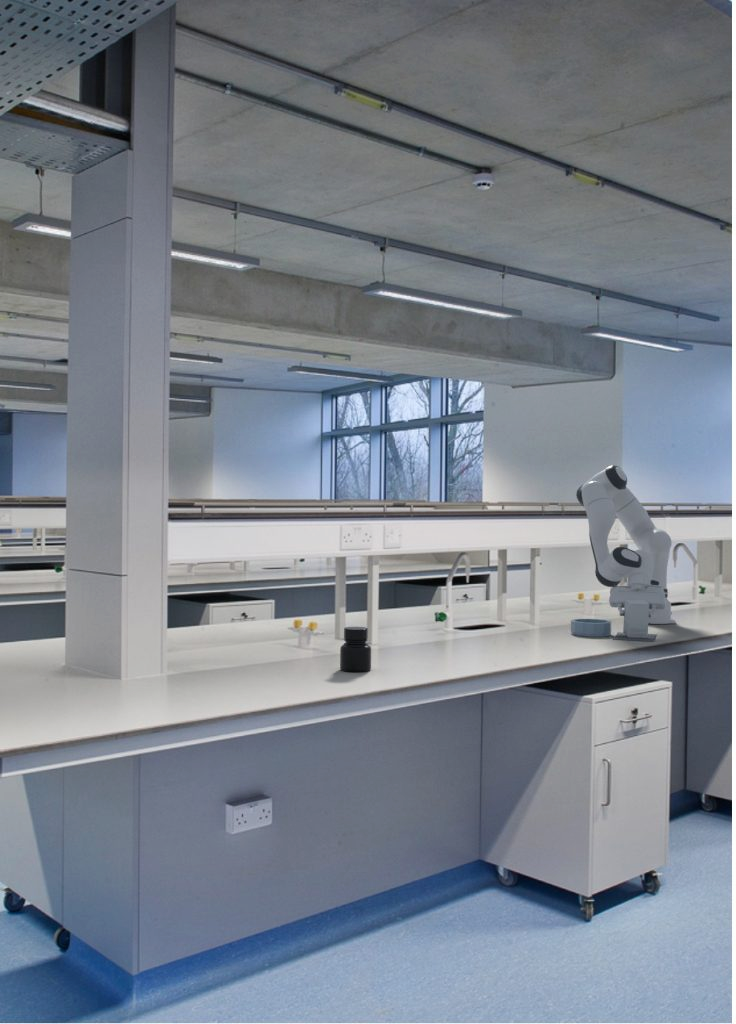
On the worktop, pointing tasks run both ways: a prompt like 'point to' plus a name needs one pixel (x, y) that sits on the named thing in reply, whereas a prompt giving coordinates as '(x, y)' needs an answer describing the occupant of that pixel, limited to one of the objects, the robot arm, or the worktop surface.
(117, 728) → the worktop surface
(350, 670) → the ink bottle
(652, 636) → the mat
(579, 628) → the bowl
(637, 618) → the supplement box
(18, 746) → the worktop surface
